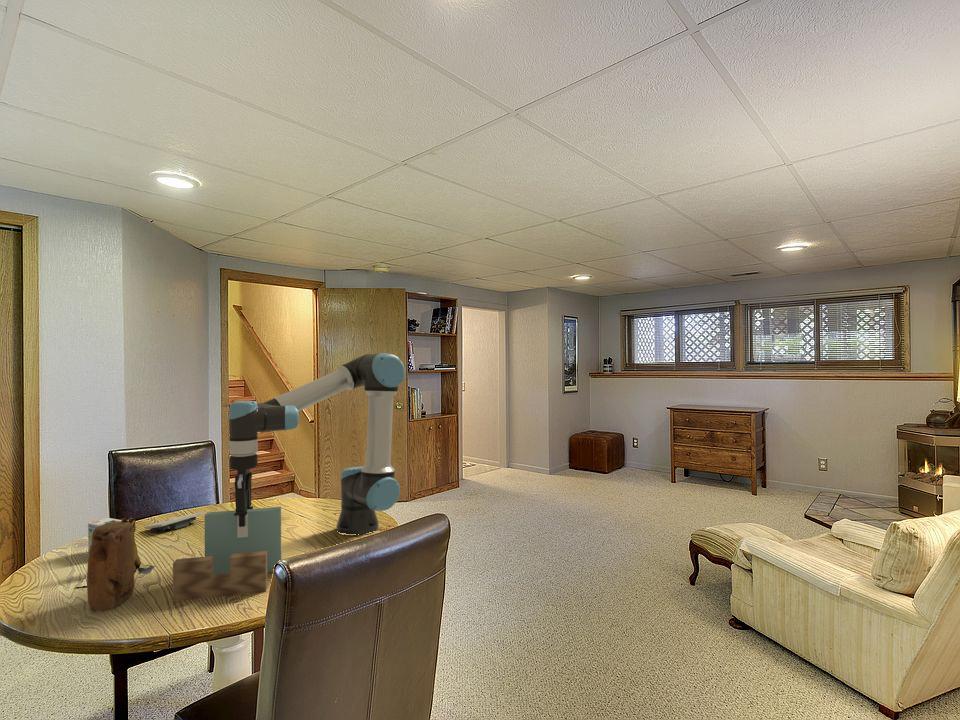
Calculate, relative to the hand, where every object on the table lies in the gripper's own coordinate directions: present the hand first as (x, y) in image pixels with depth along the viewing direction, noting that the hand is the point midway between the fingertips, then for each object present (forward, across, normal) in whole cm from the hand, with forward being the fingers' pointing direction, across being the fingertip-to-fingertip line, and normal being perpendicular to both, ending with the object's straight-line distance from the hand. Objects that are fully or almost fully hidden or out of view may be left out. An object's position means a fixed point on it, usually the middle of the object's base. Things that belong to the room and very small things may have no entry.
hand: (243, 534), depth 149 cm
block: (+11, +12, -29) cm, 33 cm away
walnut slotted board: (+11, +14, -3) cm, 18 cm away
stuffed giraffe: (+12, -9, -35) cm, 38 cm away
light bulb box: (+11, -28, -45) cm, 54 cm away
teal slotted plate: (+11, 0, 0) cm, 11 cm away
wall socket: (+12, -50, -29) cm, 59 cm away
